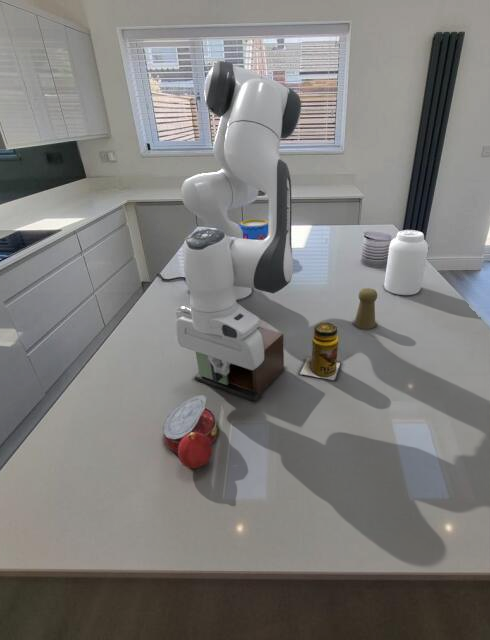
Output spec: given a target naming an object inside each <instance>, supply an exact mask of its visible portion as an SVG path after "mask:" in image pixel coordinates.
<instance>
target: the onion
mask: <svg viewBox="0 0 490 640" xmlns="http://www.w3.org/2000/svg"><path fill="white" fill-rule="evenodd" d="M212 454H213V445H212V443H211V442H210V440H209V438H208V437H207V436H205V435H204V434H203V433H199V432H191V433H189V434H187V435H186V436H185V437H183V439H182V440H181V442H180V443H179V448H178V453H177V456H178V459H179V461H180V462H181V464H182V465H184V466H185V467H186V468H190V469H194V468H195V469H197V468H199V467H203V466H204V465H205V464H207V463H208V462H209V460H210V459H211V457H212Z"/></svg>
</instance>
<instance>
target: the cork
mask: <svg viewBox="0 0 490 640" xmlns="http://www.w3.org/2000/svg"><path fill="white" fill-rule="evenodd" d="M377 299H378V292H377V291H376V289H374V288H371V287H364V288H361V289H360V290H359V292H358V300H359V302H358V303H359V304H358V307H357V311H356V315H355V320H354V326H355V327H356V328H358V329H361V330H370V329H374V328H375V327H376V306H375V303H376V301H377Z"/></svg>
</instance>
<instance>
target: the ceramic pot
mask: <svg viewBox="0 0 490 640" xmlns="http://www.w3.org/2000/svg"><path fill="white" fill-rule="evenodd" d="M237 225H238V226H239V227H240V228H241V229H242V232H243V239H253V240H264V239H265V238H267V236H268V220H265V219H259V218H258V219H255V218H254V219H246V220H243V221H241V222H240V223H239V224H237Z"/></svg>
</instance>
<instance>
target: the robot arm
mask: <svg viewBox="0 0 490 640" xmlns="http://www.w3.org/2000/svg"><path fill="white" fill-rule="evenodd" d="M203 92H204V98H205V105H206V107H207V108H208V111H210V112H211V113H212V114H213V115H215V116H217V117H219V118H220V119H219V123H218V127H217V131H216V135H215V139H214V143H213V147H212V151H213V152H212V153H213V156H214V159H215V161H216V162H217V163H218V165H219V166H221V167H222V168H221V169H220V170H218V171H216V172H208V173H201V174H200V173H199V174H196V175H193V176H191V177H189V178H186V179H185V180H184V181H183V183H182V185H181V190H180V197H181V200H182V203H183V205H184V206H185V208H186V209H187V211H189V212H190V213H192V214H193V215H195V216H196V217H197V218H198V219H199V220H200V221H201V222H202V224H203V226H204V228H202V229H197V230H194V231H192V232H190V233H189V234H188V235H187V236H186V237H185V239H184V242H183V251H182V253H183V254H182V255H183V257H182V258H183V270H184V276H177V277H173V278H165V277H163V276H162V274H161V273H160V272H158V273H157V274H156V277H159V278H160V279H161V280H163V281H165V282H170V281H171V282H172V281H176V280H182V279H183V280H185V283H186V286H187V288H188V292H189V295H190V296H189V297H190V298H189V308H188V307H187V306H180V307H179V308H177V310H176V311H175V316H176V338H177V339H176V340H177V342H178V344H179V346H180V347H181V348H184V349H187V350H190V351H193V352H195V351H196V352H199V353H202V354H205V355H208V359H209V361H210V362H211V364H212V365H213V366H214V372H216V373H219V374H222V375H225V376H226V375H227V374H228V373H229V372H230V369H229V366H230V364H231V363H232V364H235V365H238V366H241V367H244V368H247V369H249V370H254V369H256V368H257V367H258V366H259V365H260V364H261V363H262V362H263V361H264V346H263V339H262V335H261V333H260V332H259V330H258V329H257V328H258V327H260V324H261V319H260V318H259V316H257V315H256V314H254V313H252V312H251V311H249V310H248V309H246V308H244V307H243V306H242V305H241V304H239V303H238V302H237V301H238V300H242V299H245V298H247V297H248V296H250V295H251V294H252V291H253V290H252V289H254V290H257V291H261V292H266V293H270V294H276V293H278V292H279V291H281V290H283V289H284V288H285V287H286V286H288V285H289V284H290V283H291V281H292V277H293V273H294V261H293V260H294V259H293V248H292V247H293V246H292V182H291V181H292V180H291V179H292V178H291V174H290V170H289V167H288V165H287V163H286V162H285V161H283V160H282V158H281V156H280V144H281V139H283V140H284V139H287V138H289V137H290V136H291V135H292V134H293V133H294V132H295V130H296V129H297V127H298V124H299V122H300V119H301V115H302V114H301V113H302V100H301V97H300V95H299V94H298V93H297V92H296V91H295V90H294V89H292V88H291V87H289V86H284V85H283V84H282V83H280V82H278V81H277V80H275V79H273V78H271V77H269V76H267V75H265V74H263V73H258V72H256V71H253V70H250V69H247V68H244V67H241V66H237V65H234V63H233V62H230V61H225V60H224V61H223V60H218V61H216V62H215V63H213V64H212V67H211V68H210V70H209V71H208V73H207V75H206V77H205V81H204V88H203ZM259 191H261V192H263V193H264V194H266V195H267V200H268V210H267V211H268V214H267V215H268V220H267V222H268V236H267V238H265V239H264V240H253V239H243V232H242V229H241V228H240V227H239V226H238V225H239V224H238V223H235V222H234V221H231V220H230V218H229V215H228V211H229V210H233V209H238V208H239V209H240V208H244V207H245V206H248V205H250V204H252V203H254V202H255V201H256V200H257V198H258V195H259ZM159 275H160V276H159ZM196 352H195V353H196ZM220 360H221V361H222V363H221V361H220Z"/></svg>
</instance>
